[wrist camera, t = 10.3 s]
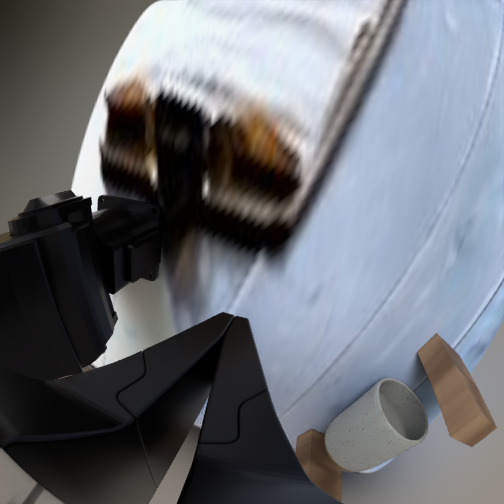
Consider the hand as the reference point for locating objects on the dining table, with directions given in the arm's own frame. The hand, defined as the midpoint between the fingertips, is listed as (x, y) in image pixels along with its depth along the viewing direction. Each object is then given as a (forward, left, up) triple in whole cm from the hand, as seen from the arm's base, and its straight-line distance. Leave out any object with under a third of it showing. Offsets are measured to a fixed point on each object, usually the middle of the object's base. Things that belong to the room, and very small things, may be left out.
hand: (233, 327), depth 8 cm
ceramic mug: (+15, -15, -12) cm, 25 cm away
